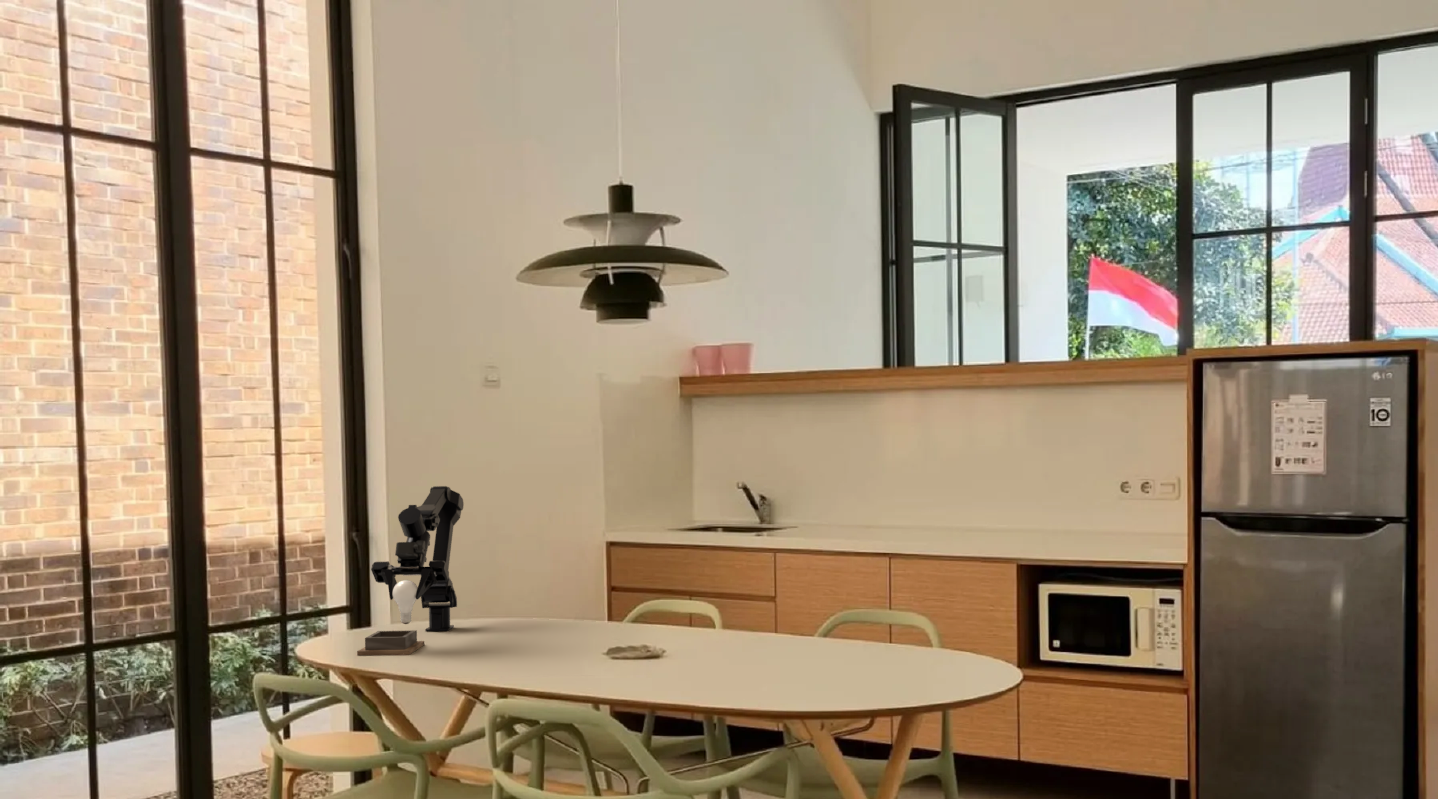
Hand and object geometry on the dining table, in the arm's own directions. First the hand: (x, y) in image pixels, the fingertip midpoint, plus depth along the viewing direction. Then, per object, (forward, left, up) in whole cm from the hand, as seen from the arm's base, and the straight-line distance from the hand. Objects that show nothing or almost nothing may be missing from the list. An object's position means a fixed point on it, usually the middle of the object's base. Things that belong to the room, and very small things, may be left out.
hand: (403, 598), depth 298 cm
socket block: (-2, -4, -13) cm, 14 cm away
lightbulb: (-1, 0, -7) cm, 7 cm away
